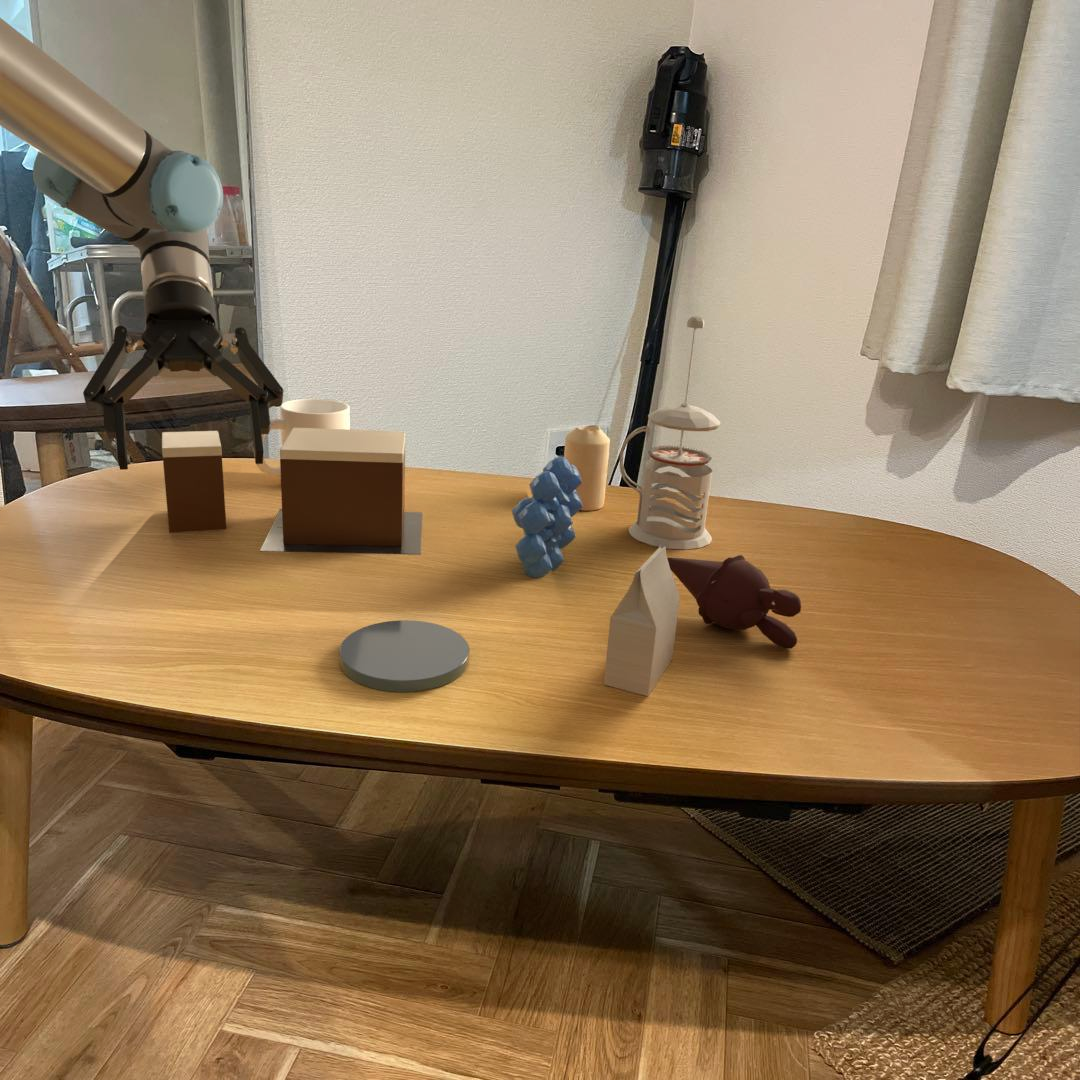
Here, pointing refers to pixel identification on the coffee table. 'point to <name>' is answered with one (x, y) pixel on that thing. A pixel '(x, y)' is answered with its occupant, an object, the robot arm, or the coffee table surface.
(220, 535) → the coffee table surface
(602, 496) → the candle
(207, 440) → the cake slice
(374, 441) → the cake
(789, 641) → the icecream
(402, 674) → the plate
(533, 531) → the grapes
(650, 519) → the french press
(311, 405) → the cup
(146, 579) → the coffee table surface
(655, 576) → the beige milk carton
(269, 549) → the cake board
